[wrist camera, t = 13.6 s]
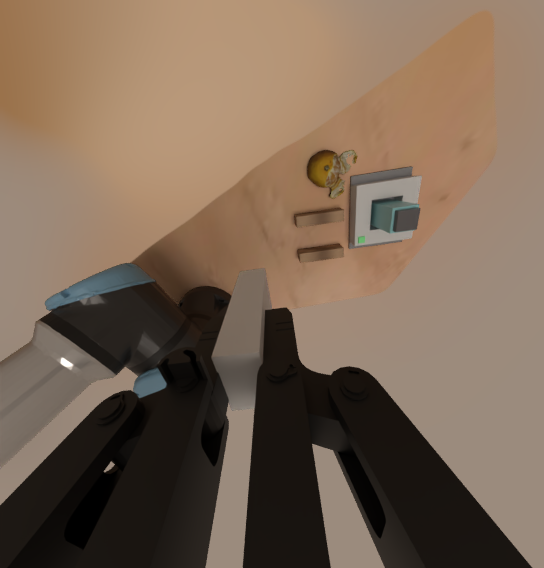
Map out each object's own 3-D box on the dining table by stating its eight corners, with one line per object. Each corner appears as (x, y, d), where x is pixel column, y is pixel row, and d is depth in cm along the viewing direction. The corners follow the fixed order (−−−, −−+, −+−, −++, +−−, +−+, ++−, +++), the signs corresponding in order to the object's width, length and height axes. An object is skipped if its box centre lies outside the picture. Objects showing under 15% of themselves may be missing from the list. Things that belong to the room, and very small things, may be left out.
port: (348, 248, 45) (355, 254, 41) (350, 176, 39) (358, 176, 35) (400, 240, 44) (411, 246, 41) (411, 166, 38) (425, 165, 34)
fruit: (340, 200, 41) (346, 202, 37) (300, 188, 40) (302, 189, 36) (358, 152, 37) (367, 150, 34) (315, 138, 36) (319, 134, 33)
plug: (367, 223, 42) (393, 235, 33) (368, 202, 40) (396, 209, 31) (387, 220, 42) (418, 231, 33) (389, 199, 40) (423, 205, 31)
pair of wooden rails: (298, 258, 46) (300, 263, 43) (294, 214, 42) (296, 217, 39) (339, 252, 45) (343, 257, 43) (339, 207, 41) (344, 209, 38)
